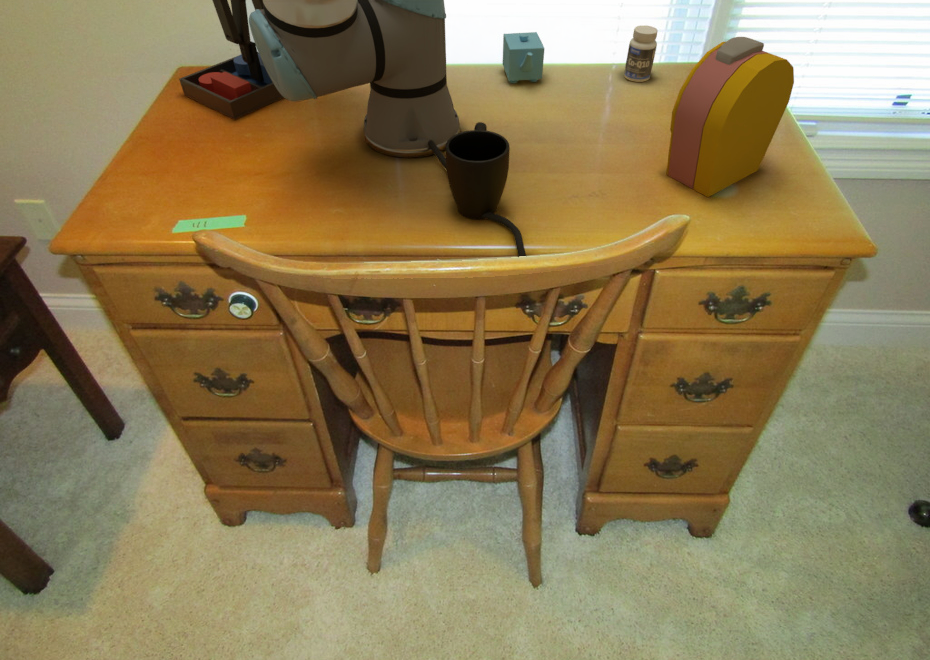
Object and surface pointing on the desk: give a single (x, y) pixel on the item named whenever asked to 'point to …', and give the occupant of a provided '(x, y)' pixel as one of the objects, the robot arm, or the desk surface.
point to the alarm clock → (727, 115)
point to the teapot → (523, 56)
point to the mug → (477, 170)
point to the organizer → (234, 108)
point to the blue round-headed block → (244, 69)
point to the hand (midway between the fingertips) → (265, 75)
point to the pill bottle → (641, 54)
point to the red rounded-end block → (225, 84)
